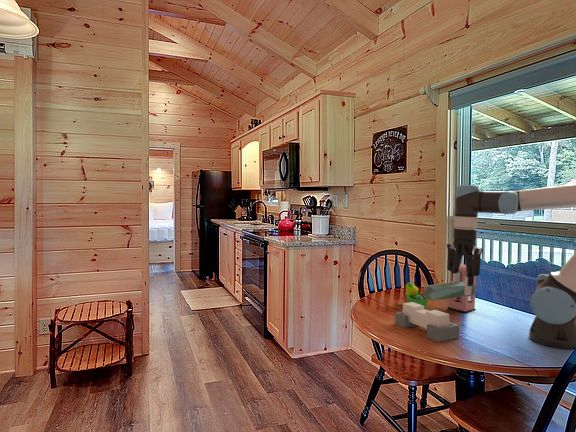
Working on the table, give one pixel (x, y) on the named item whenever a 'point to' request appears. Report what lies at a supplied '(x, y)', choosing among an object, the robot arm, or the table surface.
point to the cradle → (430, 328)
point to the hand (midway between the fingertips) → (461, 292)
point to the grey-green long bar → (446, 291)
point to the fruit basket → (415, 295)
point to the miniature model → (463, 302)
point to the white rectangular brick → (425, 316)
